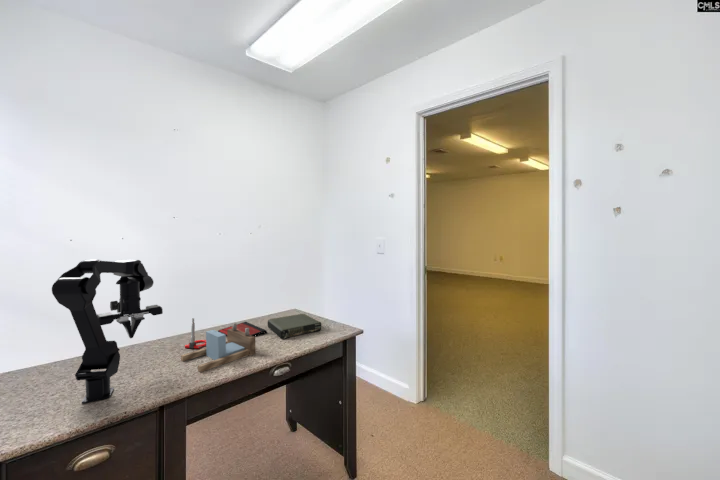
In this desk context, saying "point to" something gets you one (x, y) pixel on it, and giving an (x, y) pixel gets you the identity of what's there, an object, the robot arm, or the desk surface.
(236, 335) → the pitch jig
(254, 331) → the binder
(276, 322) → the dark green electronics case
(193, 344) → the tow hook
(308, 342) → the desk surface
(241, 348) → the block
